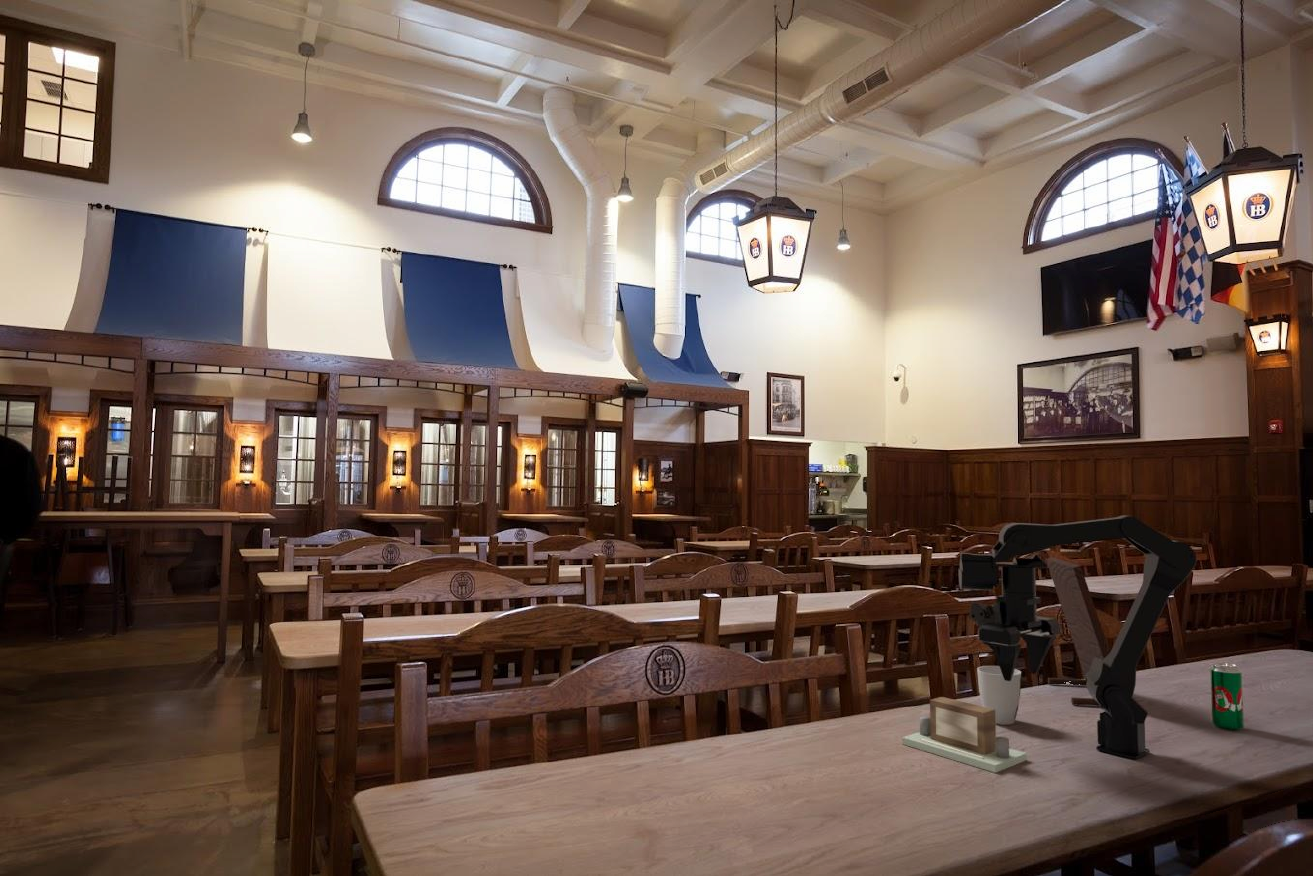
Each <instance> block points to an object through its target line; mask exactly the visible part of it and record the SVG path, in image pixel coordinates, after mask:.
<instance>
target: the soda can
mask: <svg viewBox="0 0 1313 876" xmlns="http://www.w3.org/2000/svg"><path fill="white" fill-rule="evenodd" d="M1211 665H1212V666H1211V667H1210V669H1209V672H1210V696H1211V697H1210V699H1211V722H1212V724H1213V725H1214V727H1217V728H1218V729H1222V730H1225V731H1234V732H1235V731H1241V730H1242V729H1243V728H1244V727H1245V721H1244V720H1245V718H1244V714H1245V713H1244V696H1243V695H1244V694H1243V692H1244V691H1243V690H1244V689H1243V672H1242V671H1241V669H1240V666H1239V665H1236V664H1232V663H1225V662H1214V663H1211Z"/></svg>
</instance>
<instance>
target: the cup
mask: <svg viewBox="0 0 1313 876" xmlns="http://www.w3.org/2000/svg"><path fill="white" fill-rule="evenodd" d="M976 669H977V670H976V671H977V681H978V683H977V684H978V691H979V697H980V702H981V706H982V707H987V708H991V709H995V721H996V725H1004V726H1005V725H1008V726H1009V725H1013V724H1014V723H1015V721H1016V718H1017V714H1018V710H1019V705H1020V699H1021V698H1020V697H1021V689H1022V688H1021V685H1022V671H1021V670H1018V669H1016V668H1015V670H1014V673H1013V676H1012V679H1011V681H1006V680H1004V677H1003V675H1002V672H1001V669H1000V666H999V665H982V666H979V667H977V668H976Z"/></svg>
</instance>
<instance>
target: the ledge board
mask: <svg viewBox="0 0 1313 876" xmlns="http://www.w3.org/2000/svg"><path fill="white" fill-rule="evenodd" d="M901 741H902V742H901V744H902V745H903V746H908V747H911V748H914V749H917V750H920V751H923V752H926V753H927V752H928V753H929V754H930V753H931V754H932V755H937V756H940V757H943V758H946V759H949V760H953V761H956V762H960V763H962V764H966V765H969V766H972V767H976V768H978V769H982V770H985V771H988V772H991V773H998V772H1001V771H1004V770H1006V769H1008V768H1011V767H1013V766H1015V765H1019V764H1021V763H1023V762H1026V761H1027V760H1028V755H1027V752H1024V751H1021V750H1017V749H1013V748H1010V738H1008V737H1005V736H996V751H994V752H991V753H989V754H986V755H984V754H980V753H977V752H973V751H970V750H966V749H963V748H960V747H956V746H953V745H949V744H946V743H942V742H939V741H935V740H932V739H931V728H930V716H924V715H921V716H919V731H918V732H915V733H912V734H908V735H906V736H903V737H902V738H901Z"/></svg>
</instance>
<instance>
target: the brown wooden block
mask: <svg viewBox="0 0 1313 876" xmlns="http://www.w3.org/2000/svg"><path fill="white" fill-rule="evenodd" d="M929 706H930V707H929V711H930V712H929V714H930V715H929V717H930V728H931V739H932V740H935V741H939V742H942V743H946V744H949V745H953V746H956V747H960V748H963V749H966V750H970V751H973V752H977V753H980V754H984V755H986V754H989V753H991V752H994V751H996V737H997V734H996V733H997V728H996V727H997V726H996V725H997V724H996V721H995V709H991V708H987V707H982V705H978V704H973V703H969V702H965V701H961V700H957V699H952V698H948V697H946V696H945V697H944V696H939V697H935V698H932V699H930V700H929Z"/></svg>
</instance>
